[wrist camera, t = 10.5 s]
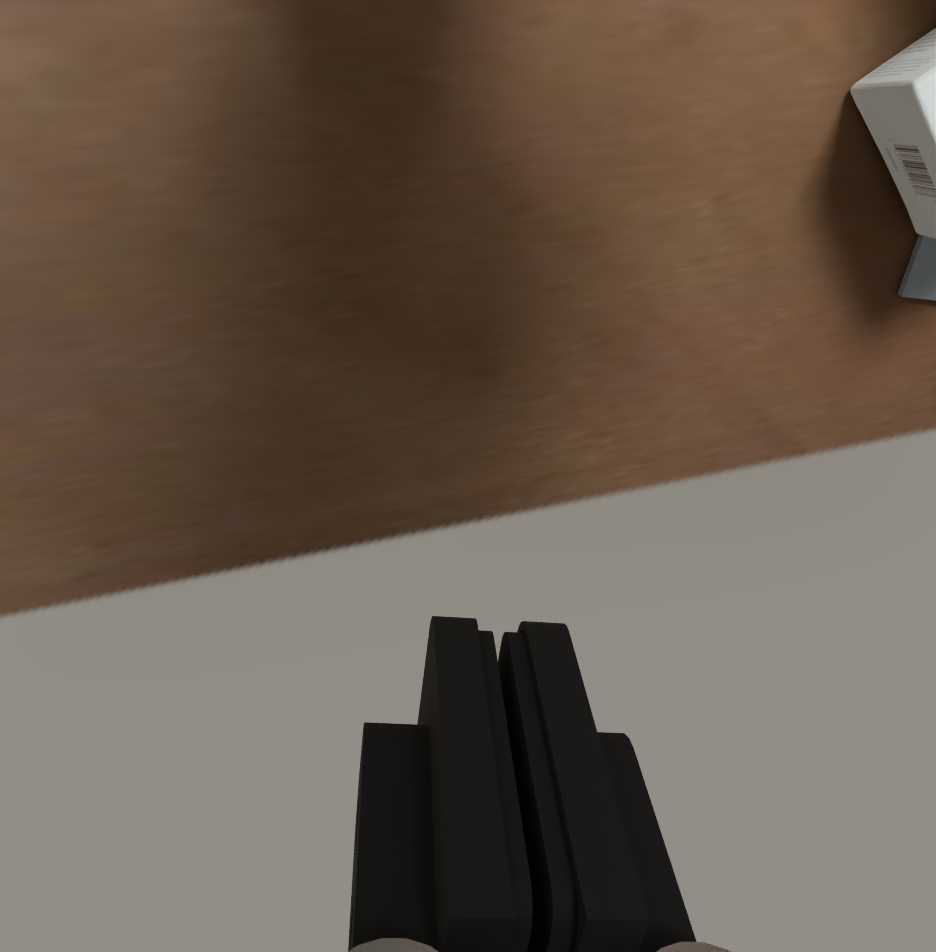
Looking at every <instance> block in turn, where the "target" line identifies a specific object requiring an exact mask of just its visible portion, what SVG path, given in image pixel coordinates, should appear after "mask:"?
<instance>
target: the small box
mask: <svg viewBox="0 0 936 952" xmlns="http://www.w3.org/2000/svg"><path fill="white" fill-rule="evenodd" d="M850 92H851V95H852V97H853V99H854V101H855V104H856V106H857V108H858V109H859V111H860V113H861V115H862V117H863V119H864V121H865V123H866V125H867V127H868V129H869V131H870V133H871V135H872V137H873V139H874V141H875V143H876V145H877V147H878V149H879V150H880V152H881V154H882V156H883V158H884V161H885V163H886V165H887V167H888V169H889V171H890V173H891V176H892V178H893V180H894V182H895V184H896V186H897V188H898V191H899V193H900V195H901V197H902V199H903V201H904V204H905V206H906V208H907V210H908V213H909V216H910V218H911V221H912V223H913V226H914V228H915V231H916V233H917V234H920V235H924V236H927V237H931V238H935V239H936V28H935V29H933V30H932V31H930V32H929V33H927V34H926V35H925V36H923V37H922V38H920V39H919V40H917V41H916V42H914V43H913V44H911V45H910V46H908V47H907V48H905V49H904V50H902V51H901V52H899V53H898V54H896V55H895V56H894V57H892V58H891V59H889V60H888V61H886V62H885V63H883V64H882V65H880V66H879V67H878V68H876V69H875V70H873V71H872V72H871V73H869V74H868V75H866V76H865V77H863V78H862V79H860V80H859V81H857V82H856V83H855V84H854V85H853V86H852V87H851V89H850Z"/></svg>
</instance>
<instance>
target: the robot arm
mask: <svg viewBox="0 0 936 952" xmlns="http://www.w3.org/2000/svg"><path fill="white" fill-rule="evenodd" d="M348 952H731V951H729V950H727V949H724V948H721V947H718V946H714V945H711V944H707V943H705V942H696V939H695V936H694V933H693V930H692V927H691V924H690V921H689V917H688V914H687V911H686V908H685V905H684V902H683V899H682V896H681V893H680V890H679V887H678V884H677V881H676V877H675V874H674V871H673V868H672V865H671V862H670V859H669V856H668V853H667V850H666V847H665V843H664V840H663V837H662V834H661V831H660V828H659V825H658V822H657V819H656V816H655V813H654V810H653V806H652V803H651V800H650V797H649V794H648V791H647V788H646V785H645V782H644V779H643V776H642V773H641V769H640V767H639V763H638V760H637V757H636V754H635V751H634V748H633V746H632V744H631V741H630V739H629V738H628V737H627V736H626V735H625V734H624V733H603V732H597V730H596V726H595V723H594V720H593V716H592V712H591V709H590V705H589V701H588V698H587V694H586V691H585V687H584V684H583V680H582V676H581V673H580V669H579V666H578V662H577V658H576V655H575V651H574V648H573V644H572V641H571V637H570V634H569V630H568V628H567V626H566V625H565V624H561V623H543V622H527V621H523V622H521V623H520V626H519V628H518V632H517V633H515V632H505V633H504V635H503V637H502V642H501V647H500V653H499V659H498V662H497V655H496V649H495V643H494V636H493V632H492V631H479V630H478V625H477V620H476V619H474V618H457V617H438V616H432V619H431V623H430V630H429V638H428V645H427V654H426V661H425V669H424V677H423V685H422V693H421V701H420V709H419V717H418V725H411V724H388V723H364V729H363V738H362V750H361V761H360V773H359V787H358V800H357V813H356V828H355V846H354V861H353V880H352V896H351V913H350V930H349V948H348Z"/></svg>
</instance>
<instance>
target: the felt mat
mask: <svg viewBox="0 0 936 952" xmlns="http://www.w3.org/2000/svg"><path fill="white" fill-rule="evenodd" d="M897 295H899V296H901V297H909V298H918V299H927V300H936V239H935V238H931V237H927V236H924V235H920V234H919V236H918V238H917V241H916V244H915V247H914V249H913V252H912V255H911V258H910V260H909V263H908V266H907V269H906V272H905V274H904V277H903V280H902V283H901V285H900V288H899V291H898V294H897Z"/></svg>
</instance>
